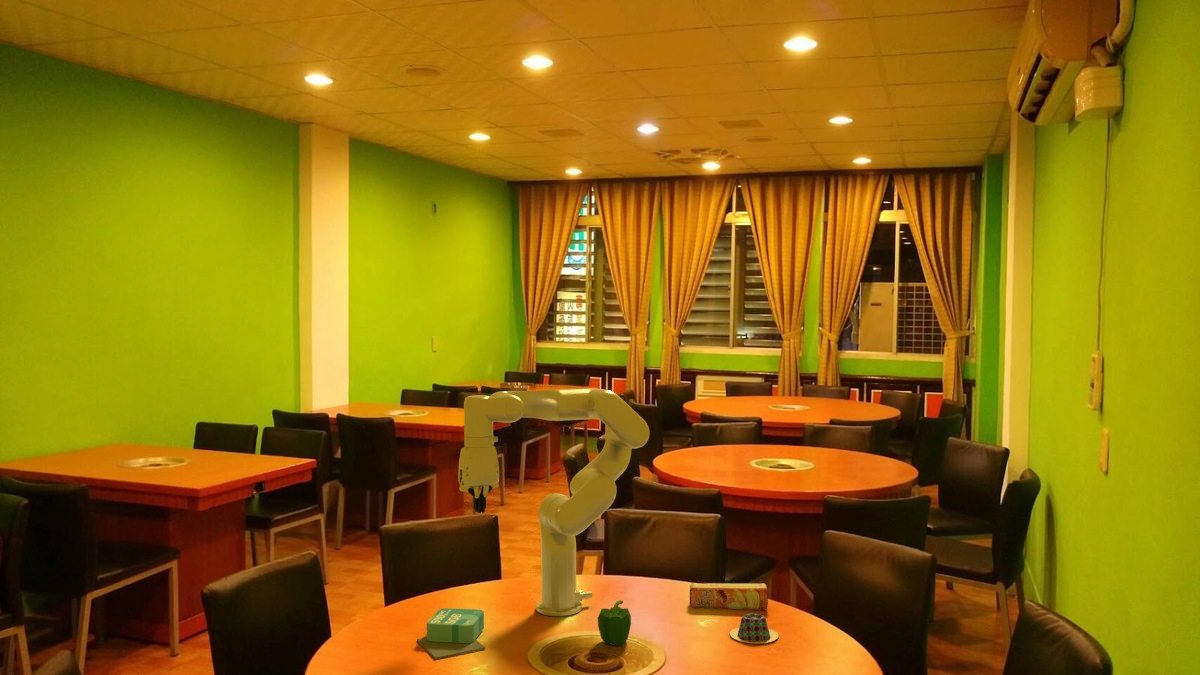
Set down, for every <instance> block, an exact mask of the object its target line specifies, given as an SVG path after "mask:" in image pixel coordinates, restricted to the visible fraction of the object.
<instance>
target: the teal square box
mask: <svg viewBox="0 0 1200 675" xmlns="http://www.w3.org/2000/svg"><path fill="white" fill-rule="evenodd" d="M484 629H485V612H484V610H483V609H472V608H471V609H470V608H453V607H452V608H451V607H450V608H448V607H445V608H440V609H438V610H437V611H436V612H435V614H433V616H431V618H429V619H428V620H427V621H426V637H427V641H429V642H445V643H472V642H474V640H475V639H476V640H477V638H478V637H479V635H480V634H481V633H482V631H483V630H484Z"/></svg>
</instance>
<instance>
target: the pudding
mask: <svg viewBox="0 0 1200 675" xmlns="http://www.w3.org/2000/svg"><path fill="white" fill-rule="evenodd" d="M767 622H768V621H767V619H766V617H765V616H764V614H763V615H762V614H760V613H752V612H751V613H745V614H744V615H742V617H741V620H740V623H739V626H738V627H734V628H732V629H731V630H730V631H729V636H730V637H731V638H733V639H734V640H735V641H738V642H742V643H747V644H767V643H771V642H774V641H776V640H777V639H778V638H779V633H778V632H777V631H775V630H774V629H772V628H769V627H768V623H767Z"/></svg>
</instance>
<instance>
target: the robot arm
mask: <svg viewBox="0 0 1200 675" xmlns="http://www.w3.org/2000/svg"><path fill="white" fill-rule="evenodd" d="M521 418H528V419H540V420H543V421H544V420H545V421H549V422H550V421H553V422H554V421H555V422H560V421H561V422H563V421H579V420H598V421H601V422H602V423H603V424H604V425H605V441H604V446H603V448H602V450H601V451H600V452H599V453H598V454H597V456H596V457H594V458H593V459H592V460H591V461H590V462H588V463H587V465H585V466H584V467H583V468H582V469H581V470H580V471H578V472H577V473H576V474H575V475H574V476H573V477H572V479H571V480H570V484H569V490H570V493H571V496H567V495H566V494H562V493H558V492H557V493H550V494H547V495H546V496H545V497H544V498H543V499H542V500H541V502H540V504H539V507H538V512H537V513H538V514H537V516H538V525H539V526H538V527H539V531H540V533H539V534H540V556H541V557H540V562H541V563H540V564H541V565H540V568H541V571H540V572H541V582H540V583H541V584H540V585H541V600H540V601H538V602H537V603H536V605H535V610H536V612H537V613H538V614H541V615H544V616H549V617H566V616H573V615H575V614H578V613H579V612H581V611H582V609H583V603H582V601H583V600H588V599H592V598H593V592H592V591H591V590H589V591H584V590H581V589H580V590H577V543H576V536H577V535H580V534H581V533H582V532H584V531H585V530H587V528H589V526H591V525H592V524H593V523H594V522H595V521H596V520H597V519H598V518H599V517H601V516H602V515H603V514H604V513H605V512H606V511H607V510H608V509H609V508H610V507H611V506H612V505H613V503H614V502H615V499H616V496H617V489H618V488H617V485H616V481H617V479H618V478H620V476H622V474H623V473H624V472H626V470H627V467H628V466H629V464H630V461H631V456H632V449H640V448H642V447H643V446H645V445H646V444H647V442H648V441H649V438H650V433H651V432H650V428H649V425H648V423H647V422H646V420H644V418H643V417H642V416H641V415H639V414H638V412H636V411H635V410H634V409H633V408H632V406H630V405H629V404H628V403H627V402H626V401H625V400H624V399H622V397H620V395H618V394H617V393H616V392H614V391H612V390H608V389H603V388H594V387H593V388H591V387H590V388H567V389H563V388H562V389H542V390H540V389H539V390H510V391H509V390H508V391H503V390H502V391H496V392H493V393H492V394H491V395H485V394H475V395H474V394H473V395H467V396H466V397H465V398H464V400H463V426H464V427H463V428H464V430H463V432H464V433H463V435H464V440H463V441H464V442H463V443H464V444H463V446H464V447H462V448H461V449H460V455H459V460H458V470H457V471H458V474H457V477H458V480H457V481H458V483H459V488H458V489H459V491H460V492H463V493H468V494H470V496H471V497H472V501H473V502H472V508H473V510H474V511H475V512H476V513H477V514H481V513H482V514H484V513H485V512H486V508H487V497H488V496H489V494H490V492H491V491H492V490H495V489H498V488H499V487H500V482H499V481H500V465H499V458H498V452H497V449H496V446H494V445H495V443H496V442H498V441H499V437H498V436H495V435H494V423H495V422H496V423H505V424H506V423H509V424H510V423H514V422H517V421H519V420H520V419H521ZM479 487H480V489H479Z"/></svg>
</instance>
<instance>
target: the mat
mask: <svg viewBox="0 0 1200 675" xmlns="http://www.w3.org/2000/svg"><path fill="white" fill-rule="evenodd" d="M416 642H417V643H419V645H420V646H421V647H422V648H424V650H425V651H426V652H428V654H429V655H430V656H431V657H432V658H433V659H434V661H435V660H441V659H445V658H451V657H454V656H455V657H456V656H461V655H466V654H470V652H471V653H474V651H476V652H479V651H478V650H480V651H484V650H483V649H485V650H486V647H485V646H484V645H483V644H482V643H480V641H479V640H477V638H476V639H475V640H474V642H472V643H445V642H429V641H427V636H425V637H419V638H417V639H416Z"/></svg>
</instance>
